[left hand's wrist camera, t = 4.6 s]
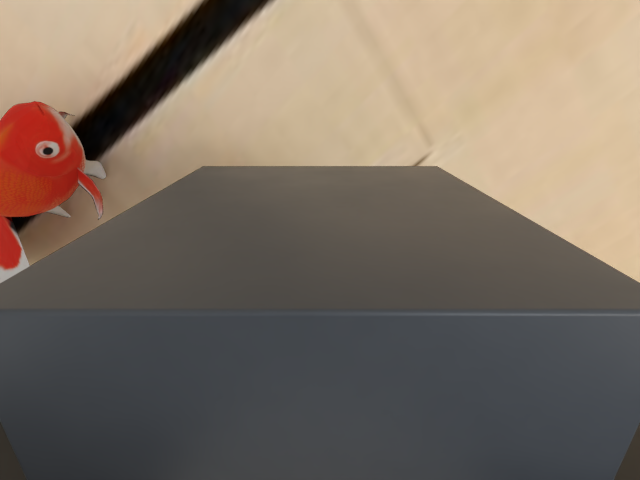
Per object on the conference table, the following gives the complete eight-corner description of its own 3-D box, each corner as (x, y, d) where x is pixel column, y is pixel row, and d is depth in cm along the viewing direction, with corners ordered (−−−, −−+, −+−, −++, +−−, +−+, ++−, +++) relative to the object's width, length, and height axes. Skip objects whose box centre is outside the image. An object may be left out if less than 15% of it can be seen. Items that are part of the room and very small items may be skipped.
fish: (189, 240, 21) (-35, 304, 13) (88, 294, 30) (-82, 352, 22) (119, 73, 21) (-154, 31, 13) (39, 177, 30) (-152, 192, 22)
